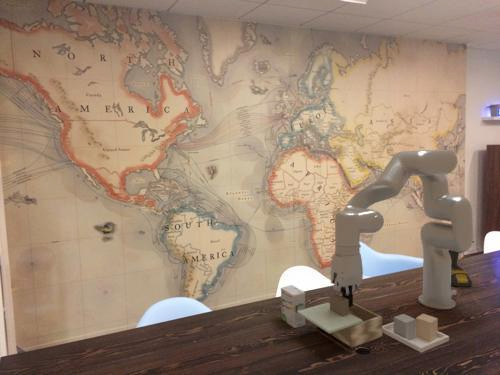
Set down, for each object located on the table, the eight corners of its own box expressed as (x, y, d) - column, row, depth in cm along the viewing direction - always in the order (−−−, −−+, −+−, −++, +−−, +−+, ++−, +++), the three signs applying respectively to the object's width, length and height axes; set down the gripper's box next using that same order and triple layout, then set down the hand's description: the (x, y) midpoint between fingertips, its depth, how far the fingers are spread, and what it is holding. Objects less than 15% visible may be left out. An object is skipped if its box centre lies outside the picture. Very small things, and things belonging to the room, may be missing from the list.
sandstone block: (422, 331, 113) (423, 313, 113) (437, 336, 110) (437, 318, 109) (416, 336, 111) (416, 317, 110) (430, 341, 107) (430, 322, 107)
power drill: (483, 292, 145) (485, 232, 143) (461, 293, 145) (462, 233, 143) (455, 276, 165) (456, 223, 163) (436, 276, 165) (437, 224, 163)
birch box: (347, 318, 125) (347, 299, 124) (382, 338, 111) (382, 316, 111) (318, 328, 119) (317, 308, 118) (351, 349, 105) (351, 327, 105)
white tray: (406, 322, 121) (406, 317, 121) (448, 342, 107) (449, 336, 107) (379, 332, 115) (379, 326, 114) (421, 354, 101) (421, 348, 101)
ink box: (280, 318, 127) (280, 287, 126) (292, 315, 129) (291, 284, 128) (294, 328, 119) (293, 294, 118) (306, 325, 121) (305, 292, 120)
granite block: (403, 331, 114) (403, 313, 113) (415, 337, 110) (415, 319, 109) (393, 335, 112) (393, 317, 111) (405, 341, 108) (406, 322, 107)
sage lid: (328, 304, 120) (328, 288, 120) (362, 322, 107) (362, 304, 106) (297, 313, 114) (296, 296, 114) (329, 333, 101) (329, 314, 100)
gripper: (356, 244, 119) (356, 296, 121) (321, 250, 112) (321, 306, 114) (373, 248, 113) (373, 304, 114) (337, 256, 106) (337, 315, 107)
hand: (347, 305), depth 114 cm, fingers closed
